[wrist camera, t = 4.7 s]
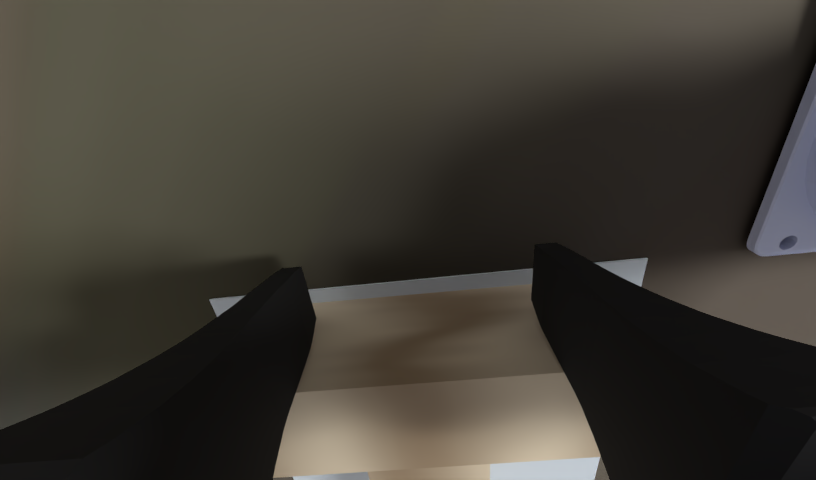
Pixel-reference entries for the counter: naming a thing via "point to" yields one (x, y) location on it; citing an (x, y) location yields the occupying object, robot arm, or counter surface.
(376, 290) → the mat
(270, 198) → the counter surface
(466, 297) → the t block
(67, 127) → the counter surface
